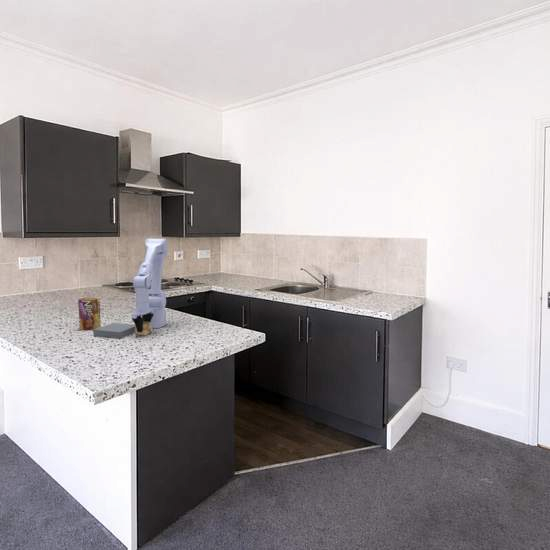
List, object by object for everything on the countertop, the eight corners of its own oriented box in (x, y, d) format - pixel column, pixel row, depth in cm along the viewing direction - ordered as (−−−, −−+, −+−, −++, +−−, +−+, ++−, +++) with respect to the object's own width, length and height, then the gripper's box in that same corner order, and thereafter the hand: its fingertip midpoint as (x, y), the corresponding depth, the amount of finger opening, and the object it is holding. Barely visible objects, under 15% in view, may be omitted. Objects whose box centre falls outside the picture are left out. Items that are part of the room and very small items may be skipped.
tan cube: (141, 331, 185) (141, 321, 184) (151, 332, 183) (150, 322, 183) (135, 334, 180) (135, 323, 179) (145, 335, 179) (144, 324, 178)
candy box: (101, 327, 193) (100, 296, 191) (98, 329, 189) (97, 298, 187) (81, 327, 192) (80, 297, 190) (79, 330, 187) (77, 298, 186)
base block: (113, 328, 190) (113, 322, 190) (139, 331, 187) (138, 324, 186) (93, 336, 177) (93, 329, 177) (120, 338, 173) (120, 332, 173)
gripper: (144, 298, 188) (144, 326, 190) (125, 303, 174) (126, 333, 176) (157, 299, 186) (157, 327, 188) (139, 304, 172) (139, 334, 174)
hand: (143, 330), depth 182 cm, fingers closed on tan cube, 5 cm apart
